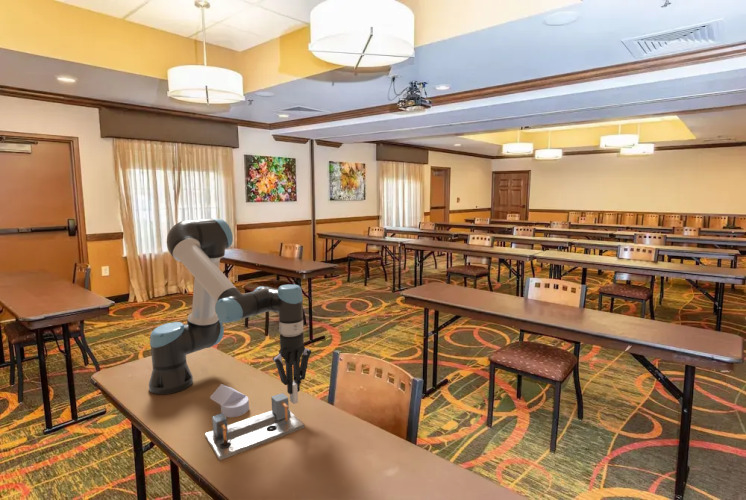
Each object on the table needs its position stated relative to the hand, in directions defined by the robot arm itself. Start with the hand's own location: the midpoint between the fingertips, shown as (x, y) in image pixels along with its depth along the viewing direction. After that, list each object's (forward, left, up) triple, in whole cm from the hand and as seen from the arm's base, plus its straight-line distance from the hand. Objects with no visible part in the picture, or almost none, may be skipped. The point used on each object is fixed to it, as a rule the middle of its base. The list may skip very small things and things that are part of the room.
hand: (294, 401), depth 136 cm
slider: (+2, -5, -3) cm, 6 cm away
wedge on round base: (-17, -15, -5) cm, 23 cm away
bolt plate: (+2, -14, -5) cm, 15 cm away
